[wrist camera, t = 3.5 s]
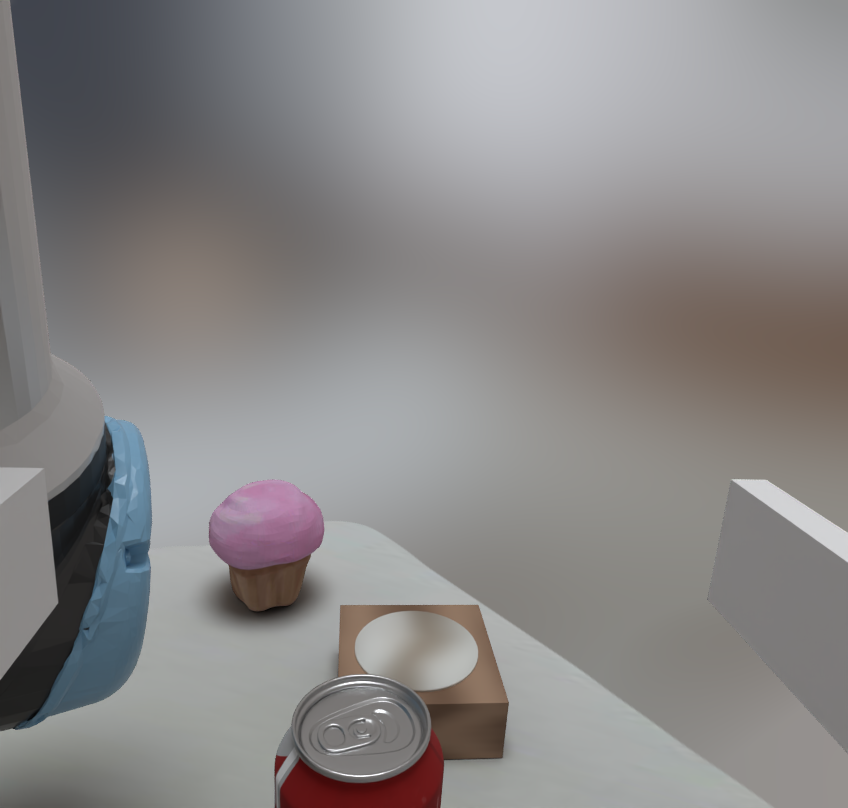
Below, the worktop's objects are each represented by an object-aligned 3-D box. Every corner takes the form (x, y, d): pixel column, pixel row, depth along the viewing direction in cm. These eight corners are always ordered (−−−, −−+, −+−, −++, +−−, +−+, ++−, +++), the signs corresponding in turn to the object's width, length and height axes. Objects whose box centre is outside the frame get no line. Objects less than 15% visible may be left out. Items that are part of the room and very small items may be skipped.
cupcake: (301, 563, 60) (303, 460, 58) (337, 615, 53) (341, 500, 50) (200, 584, 56) (196, 474, 53) (224, 643, 49) (221, 519, 46)
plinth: (335, 762, 39) (337, 703, 38) (338, 653, 49) (340, 602, 47) (502, 757, 40) (509, 699, 39) (473, 651, 50) (478, 602, 49)
